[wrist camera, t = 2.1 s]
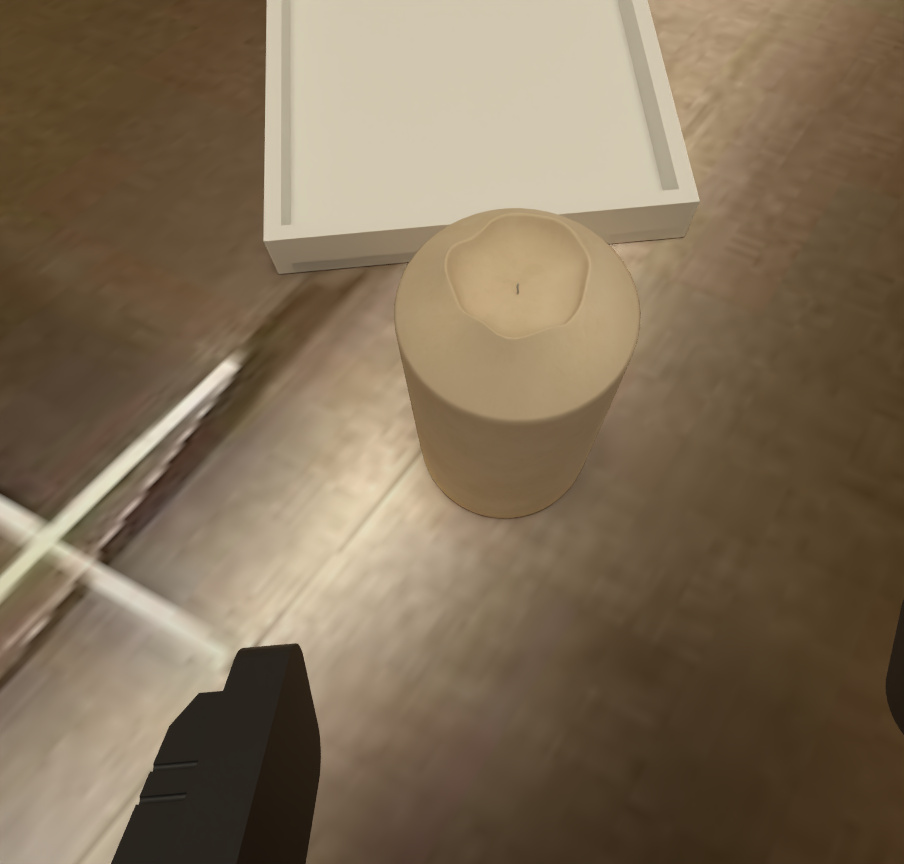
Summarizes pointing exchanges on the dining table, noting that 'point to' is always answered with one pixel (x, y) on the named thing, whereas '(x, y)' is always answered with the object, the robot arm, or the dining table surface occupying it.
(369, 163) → the tray
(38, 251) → the dining table surface
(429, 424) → the candle
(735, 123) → the dining table surface
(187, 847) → the robot arm
